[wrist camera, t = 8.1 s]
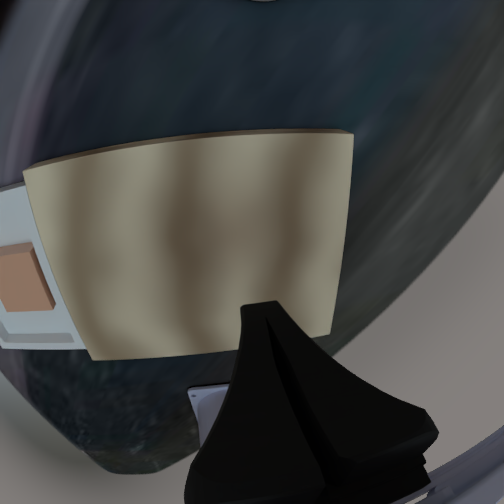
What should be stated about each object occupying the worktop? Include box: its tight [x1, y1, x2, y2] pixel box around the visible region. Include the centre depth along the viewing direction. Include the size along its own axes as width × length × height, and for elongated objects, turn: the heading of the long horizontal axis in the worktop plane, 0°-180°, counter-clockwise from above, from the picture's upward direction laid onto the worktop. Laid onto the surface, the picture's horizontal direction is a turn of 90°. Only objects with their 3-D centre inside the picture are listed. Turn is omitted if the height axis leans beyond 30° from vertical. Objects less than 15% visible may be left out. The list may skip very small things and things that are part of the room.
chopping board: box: [23, 129, 354, 360], centre depth 20 cm, size 20×16×2 cm
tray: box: [0, 181, 87, 349], centre depth 19 cm, size 10×14×2 cm
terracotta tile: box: [0, 242, 56, 312], centre depth 18 cm, size 5×5×2 cm
